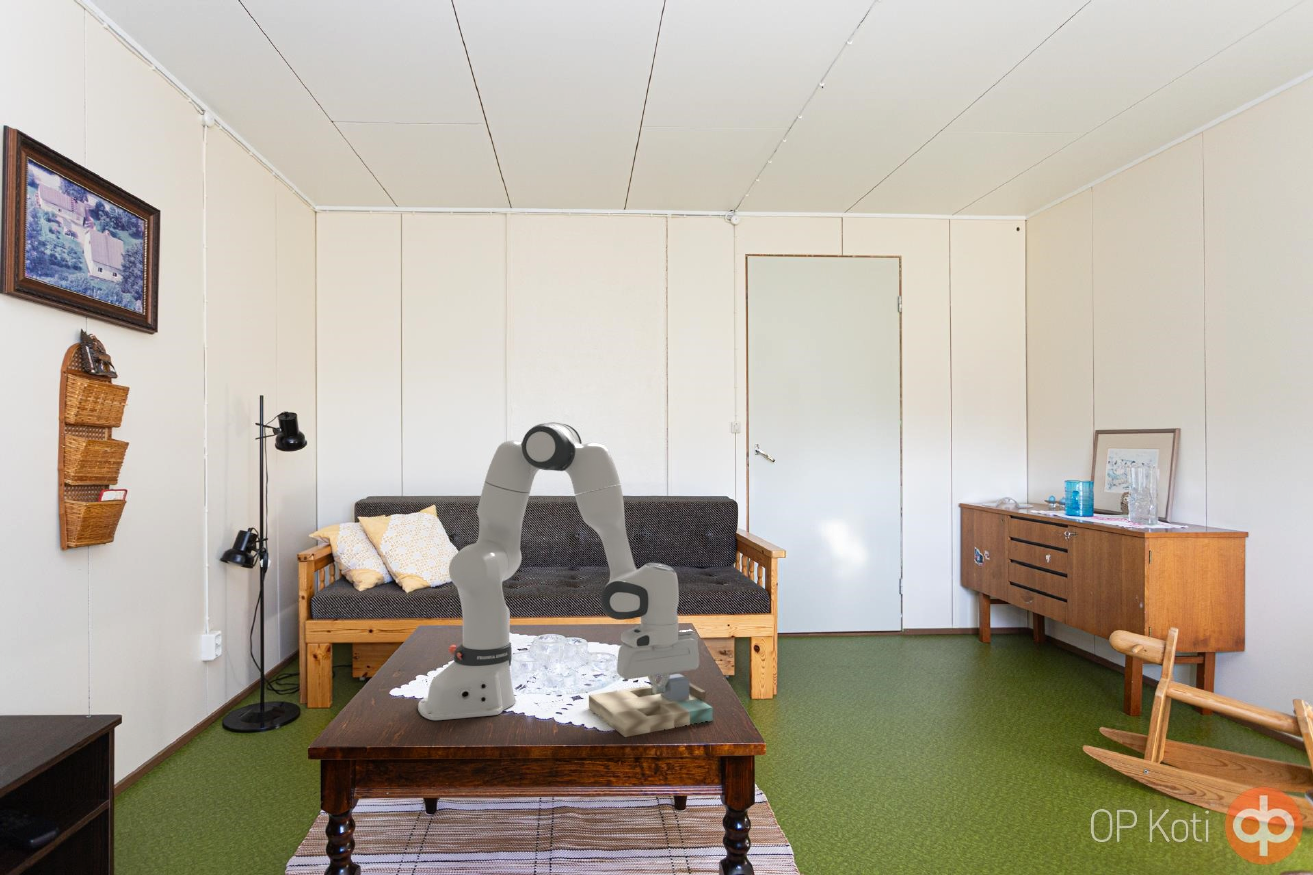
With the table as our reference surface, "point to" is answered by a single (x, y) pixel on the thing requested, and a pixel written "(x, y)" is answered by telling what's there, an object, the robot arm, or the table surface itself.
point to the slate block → (676, 688)
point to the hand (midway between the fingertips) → (658, 692)
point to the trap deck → (649, 710)
